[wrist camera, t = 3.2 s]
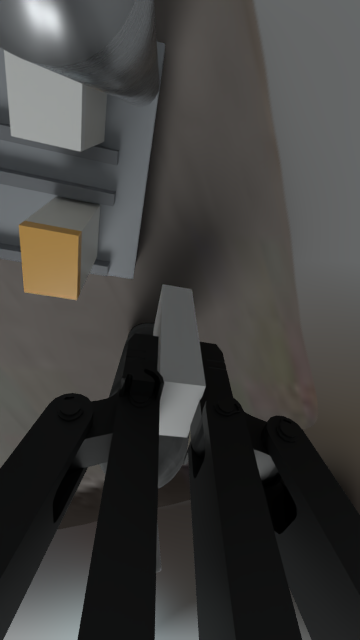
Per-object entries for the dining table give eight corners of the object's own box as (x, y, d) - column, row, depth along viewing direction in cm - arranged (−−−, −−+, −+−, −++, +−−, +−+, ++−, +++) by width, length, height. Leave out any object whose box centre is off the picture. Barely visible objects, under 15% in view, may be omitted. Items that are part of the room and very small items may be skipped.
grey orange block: (57, 249, 23) (24, 292, 18) (56, 196, 21) (18, 224, 15) (97, 256, 24) (76, 300, 18) (100, 204, 22) (78, 236, 16)
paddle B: (55, 130, 19) (11, 136, 13) (54, 47, 17) (0, 12, 11) (104, 141, 19) (80, 151, 14) (108, 62, 17) (83, 36, 12)
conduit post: (116, 100, 18) (-77, 33, 3) (121, 49, 17) (-161, -411, 2) (155, 110, 19) (132, 88, 4) (162, 61, 17) (166, -263, 3)
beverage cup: (118, 306, 30) (64, 539, 13) (189, 317, 31) (219, 544, 15) (111, 360, 34) (63, 592, 17) (174, 368, 35) (185, 593, 19)
